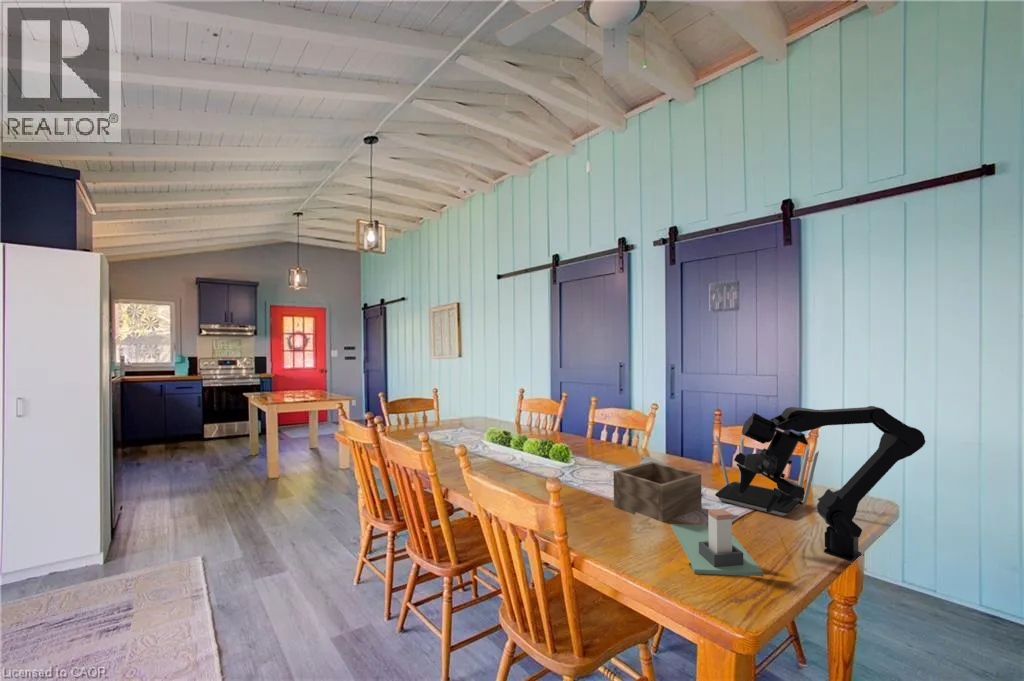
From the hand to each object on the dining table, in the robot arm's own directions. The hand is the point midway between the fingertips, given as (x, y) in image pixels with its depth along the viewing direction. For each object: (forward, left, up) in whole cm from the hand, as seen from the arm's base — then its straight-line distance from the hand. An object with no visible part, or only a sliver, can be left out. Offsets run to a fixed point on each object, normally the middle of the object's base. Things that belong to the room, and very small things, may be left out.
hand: (753, 502), depth 130 cm
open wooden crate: (+34, -2, -12) cm, 36 cm away
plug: (0, +16, -11) cm, 19 cm away
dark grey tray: (0, +16, -12) cm, 20 cm away
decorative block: (+53, -27, -13) cm, 61 cm away
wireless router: (+17, -37, -12) cm, 42 cm away
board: (+6, +11, -12) cm, 17 cm away
